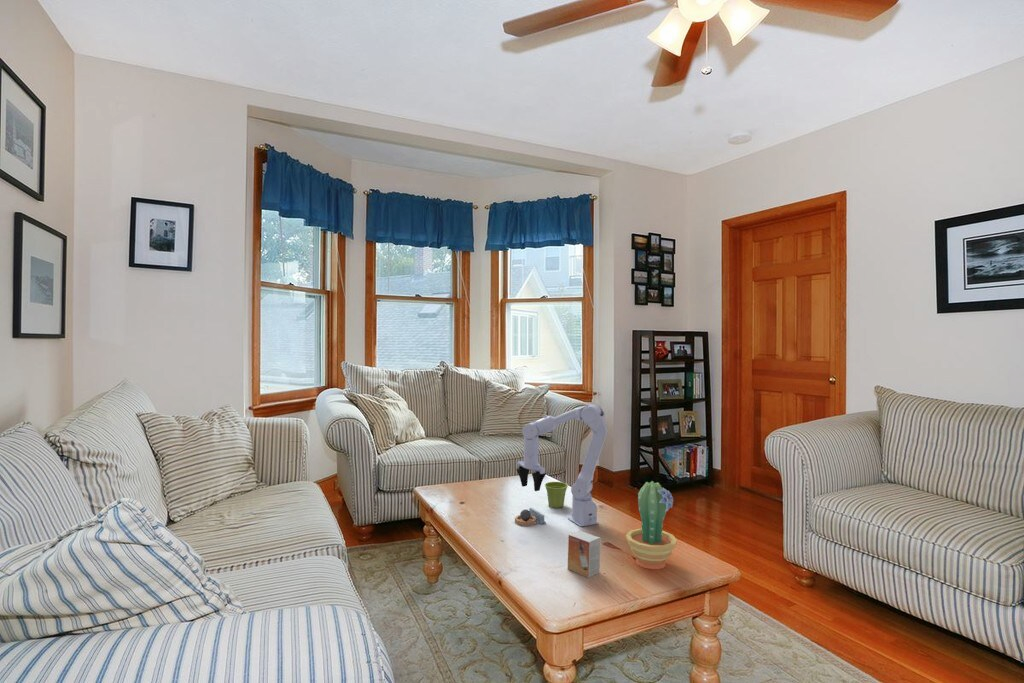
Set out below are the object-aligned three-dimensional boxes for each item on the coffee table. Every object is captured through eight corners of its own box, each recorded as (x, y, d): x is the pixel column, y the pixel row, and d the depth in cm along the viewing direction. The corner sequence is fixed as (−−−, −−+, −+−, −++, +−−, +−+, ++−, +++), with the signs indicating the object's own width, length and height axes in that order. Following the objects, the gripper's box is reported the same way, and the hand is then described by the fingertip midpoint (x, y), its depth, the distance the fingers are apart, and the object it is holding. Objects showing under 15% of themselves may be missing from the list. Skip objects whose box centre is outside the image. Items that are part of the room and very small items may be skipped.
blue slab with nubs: (546, 523, 197) (546, 515, 197) (540, 524, 196) (540, 516, 196) (533, 515, 206) (533, 507, 206) (527, 515, 205) (527, 508, 205)
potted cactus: (641, 576, 154) (642, 491, 154) (616, 555, 169) (617, 477, 169) (687, 570, 159) (688, 487, 158) (659, 550, 174) (660, 474, 173)
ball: (533, 520, 199) (533, 509, 199) (526, 523, 196) (526, 512, 196) (524, 517, 201) (525, 507, 201) (517, 520, 198) (518, 509, 198)
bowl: (539, 523, 197) (539, 520, 197) (521, 526, 193) (521, 523, 193) (529, 517, 204) (529, 513, 204) (512, 520, 200) (512, 516, 200)
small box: (567, 569, 159) (567, 534, 159) (578, 563, 163) (579, 529, 163) (588, 578, 153) (589, 542, 153) (600, 572, 157) (600, 537, 157)
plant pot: (568, 509, 213) (568, 488, 213) (545, 509, 213) (545, 487, 213) (566, 502, 222) (566, 481, 222) (544, 502, 222) (544, 481, 222)
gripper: (551, 455, 204) (550, 490, 205) (526, 449, 216) (526, 482, 216) (537, 458, 200) (537, 494, 200) (513, 451, 211) (513, 485, 211)
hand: (530, 488), depth 208 cm, fingers open, 7 cm apart
